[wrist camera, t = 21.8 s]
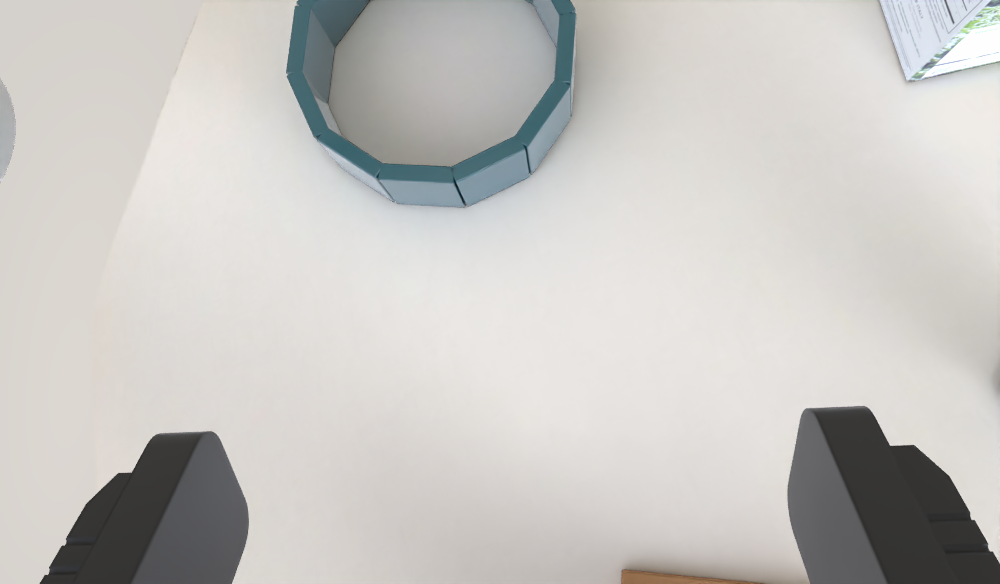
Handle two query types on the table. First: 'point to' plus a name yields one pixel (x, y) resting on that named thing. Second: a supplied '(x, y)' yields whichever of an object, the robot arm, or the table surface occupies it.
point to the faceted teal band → (315, 33)
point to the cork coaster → (670, 579)
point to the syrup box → (943, 35)
